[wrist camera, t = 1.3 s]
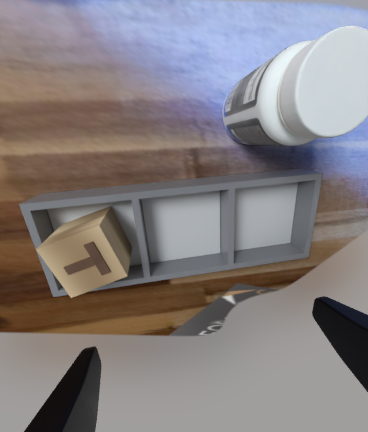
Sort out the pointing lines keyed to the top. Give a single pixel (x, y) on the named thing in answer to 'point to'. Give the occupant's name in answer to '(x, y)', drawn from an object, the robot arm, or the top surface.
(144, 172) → the top surface
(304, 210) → the bay dish
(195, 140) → the top surface
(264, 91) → the pill bottle
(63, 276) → the letter cube
